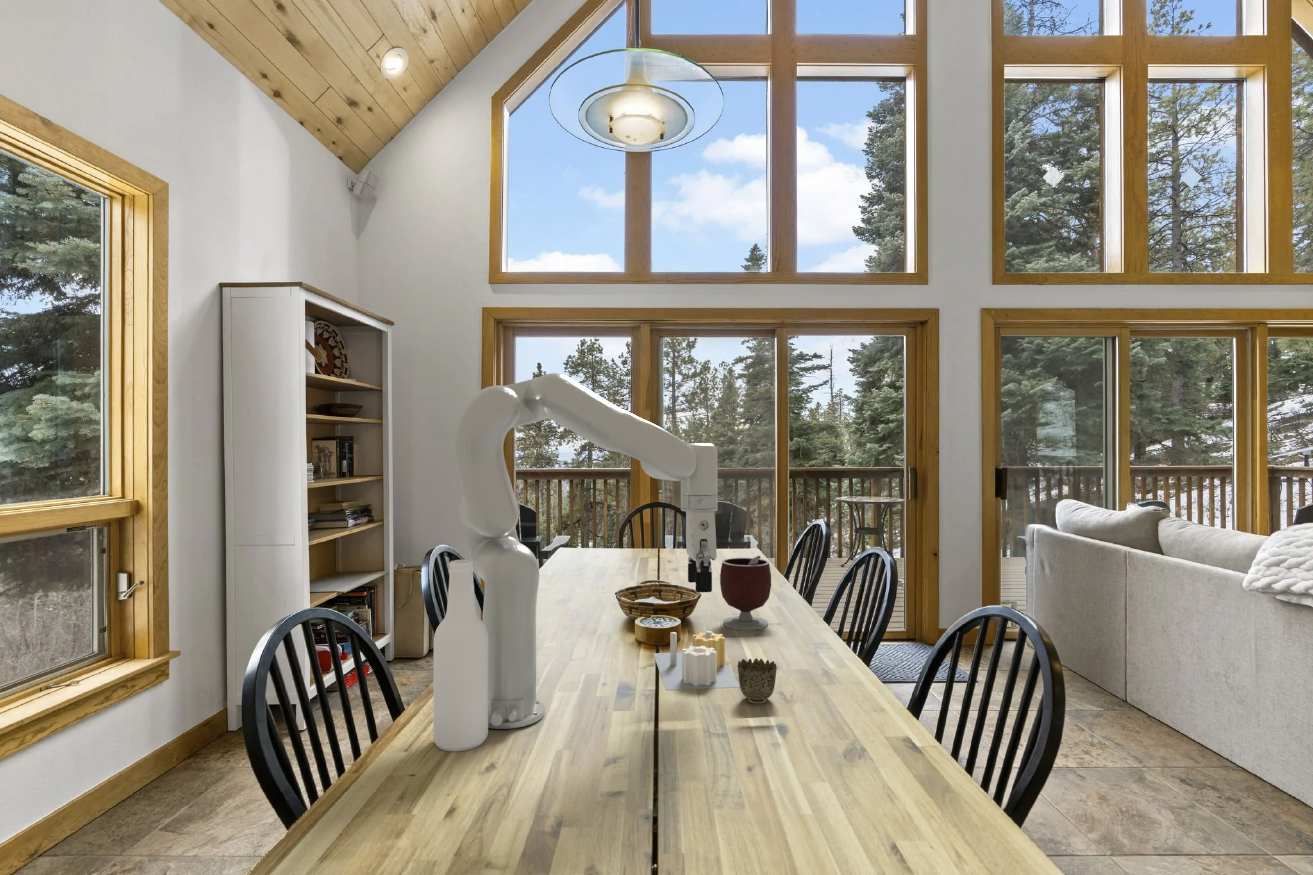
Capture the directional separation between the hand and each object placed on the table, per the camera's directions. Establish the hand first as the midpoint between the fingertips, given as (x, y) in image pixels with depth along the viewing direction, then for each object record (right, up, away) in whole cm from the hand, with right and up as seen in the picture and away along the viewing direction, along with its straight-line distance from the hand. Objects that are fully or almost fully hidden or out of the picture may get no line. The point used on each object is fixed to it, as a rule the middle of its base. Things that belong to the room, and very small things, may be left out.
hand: (699, 586), depth 144 cm
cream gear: (0, -19, 0) cm, 19 cm away
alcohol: (-41, -20, -27) cm, 53 cm away
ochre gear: (+3, -19, +10) cm, 22 cm away
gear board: (-1, -20, +7) cm, 21 cm away
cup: (+10, -20, -11) cm, 25 cm away
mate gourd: (+16, -21, +48) cm, 54 cm away
